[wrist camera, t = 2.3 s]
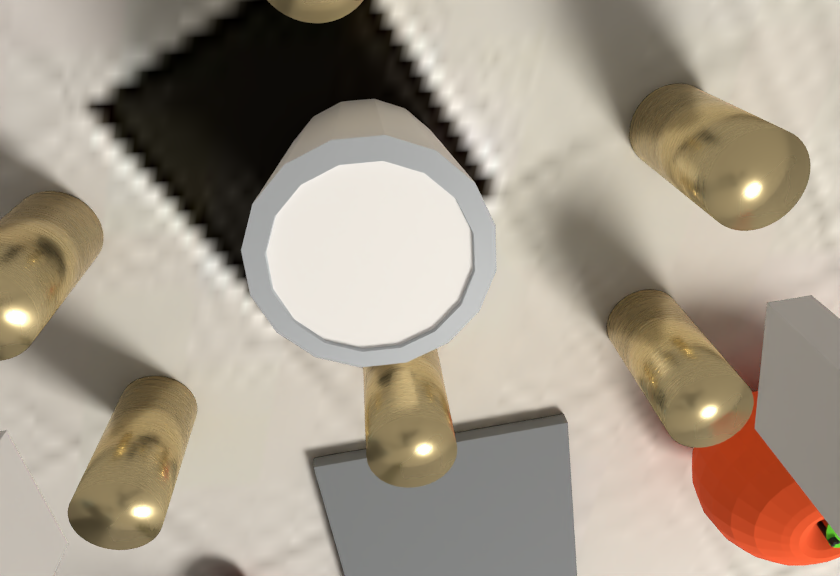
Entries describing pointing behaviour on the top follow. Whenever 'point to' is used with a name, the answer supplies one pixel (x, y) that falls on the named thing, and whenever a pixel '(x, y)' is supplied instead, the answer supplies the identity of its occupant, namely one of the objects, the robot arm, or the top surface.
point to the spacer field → (422, 377)
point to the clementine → (760, 501)
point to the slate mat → (460, 508)
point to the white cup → (369, 239)
